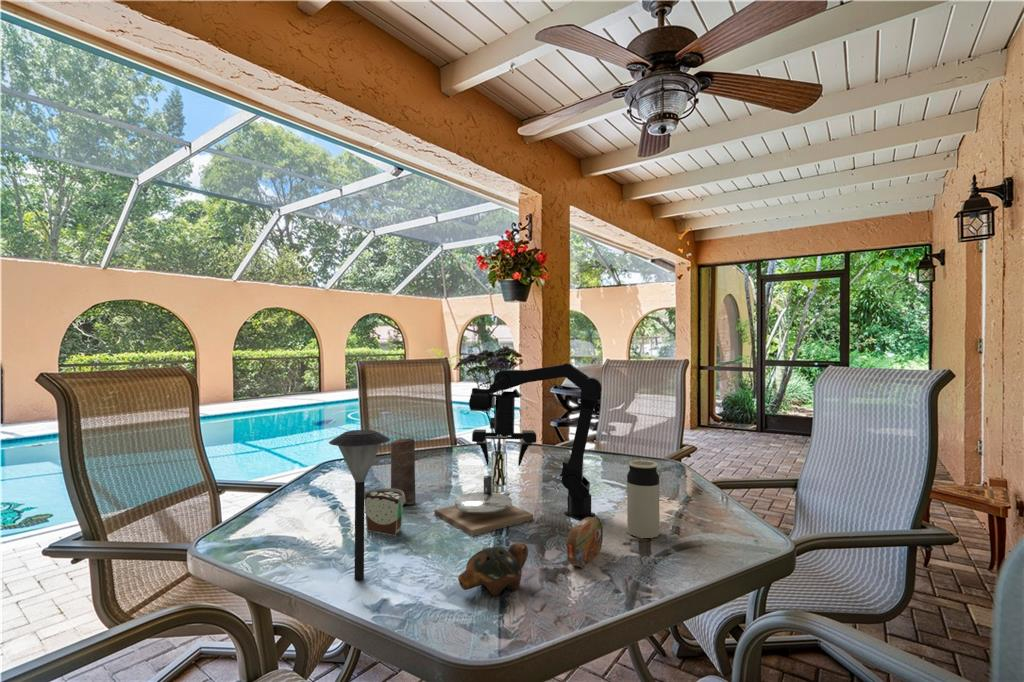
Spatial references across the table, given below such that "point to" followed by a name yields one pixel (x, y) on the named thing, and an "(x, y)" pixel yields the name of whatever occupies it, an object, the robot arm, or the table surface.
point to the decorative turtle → (495, 568)
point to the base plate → (482, 519)
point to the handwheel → (483, 500)
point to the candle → (403, 467)
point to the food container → (384, 510)
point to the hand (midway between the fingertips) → (503, 465)
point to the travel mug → (643, 499)
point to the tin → (584, 541)
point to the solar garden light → (359, 478)
